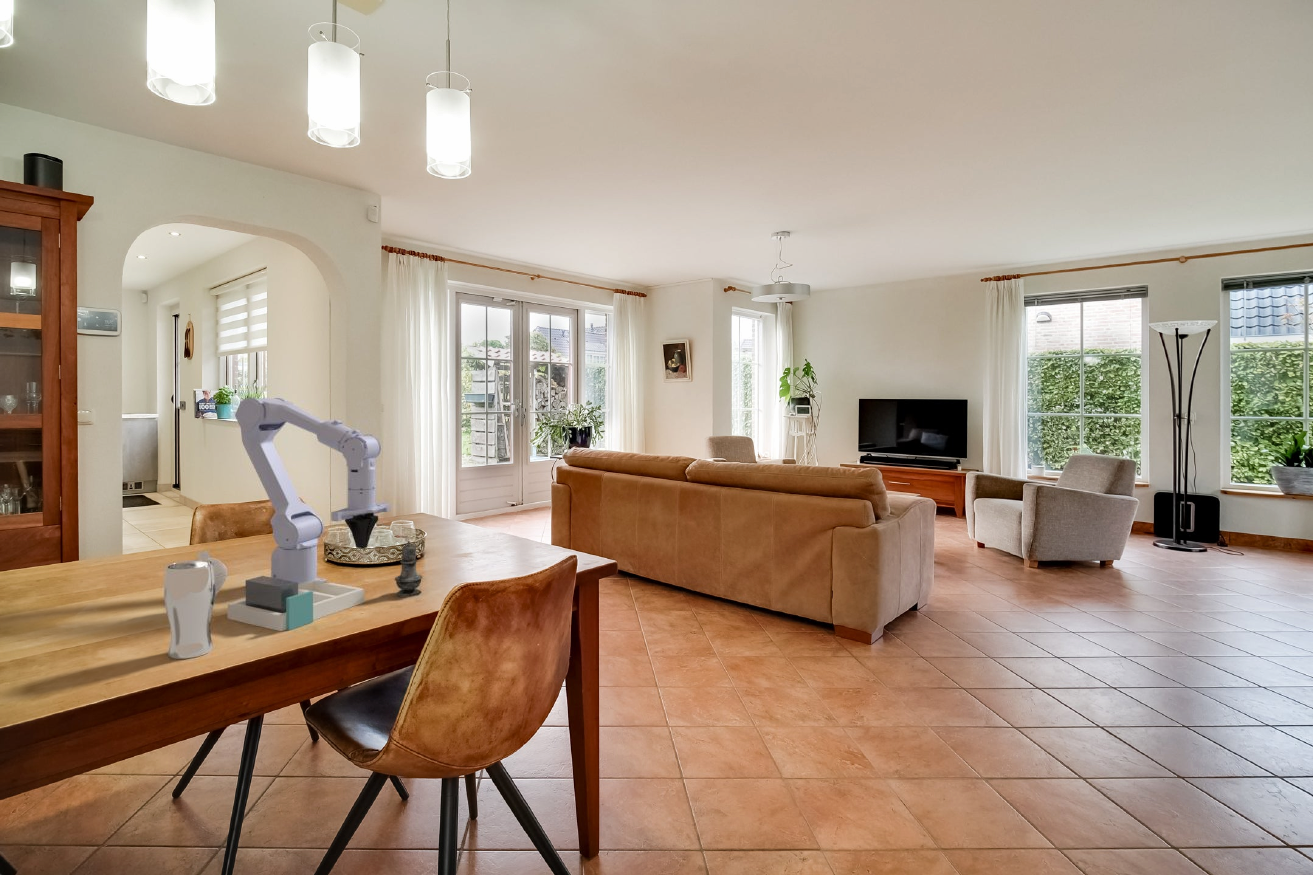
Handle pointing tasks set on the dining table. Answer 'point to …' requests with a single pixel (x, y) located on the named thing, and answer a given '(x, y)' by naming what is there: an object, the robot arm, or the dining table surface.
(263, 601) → the dark grey block
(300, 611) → the divided tray
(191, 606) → the beer glass
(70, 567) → the dining table surface
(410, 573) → the dark grey stone ornament
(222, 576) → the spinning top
